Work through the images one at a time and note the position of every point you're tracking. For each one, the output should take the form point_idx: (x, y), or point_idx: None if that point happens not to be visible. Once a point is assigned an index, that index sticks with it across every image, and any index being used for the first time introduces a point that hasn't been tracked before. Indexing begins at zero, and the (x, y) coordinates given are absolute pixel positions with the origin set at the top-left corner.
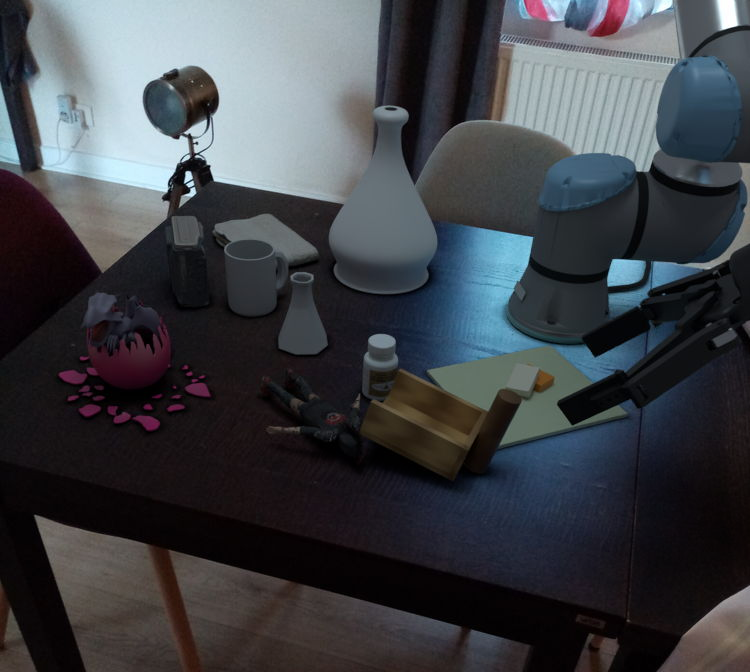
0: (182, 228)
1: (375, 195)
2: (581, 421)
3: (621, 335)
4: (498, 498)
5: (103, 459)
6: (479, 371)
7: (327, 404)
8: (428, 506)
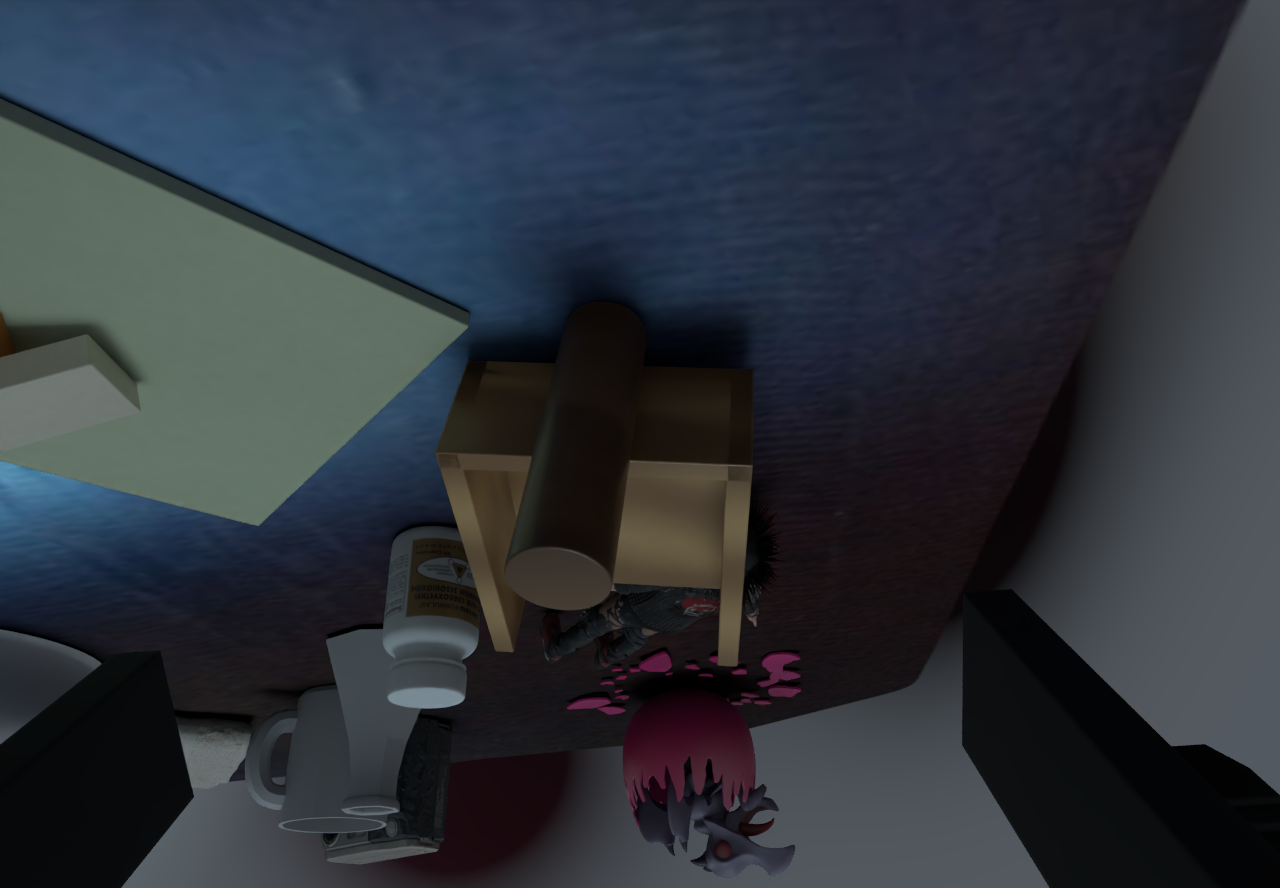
0: (383, 858)
1: None
2: (1038, 618)
3: (8, 861)
4: (725, 231)
5: (884, 653)
6: (111, 457)
7: (650, 619)
8: (847, 356)
